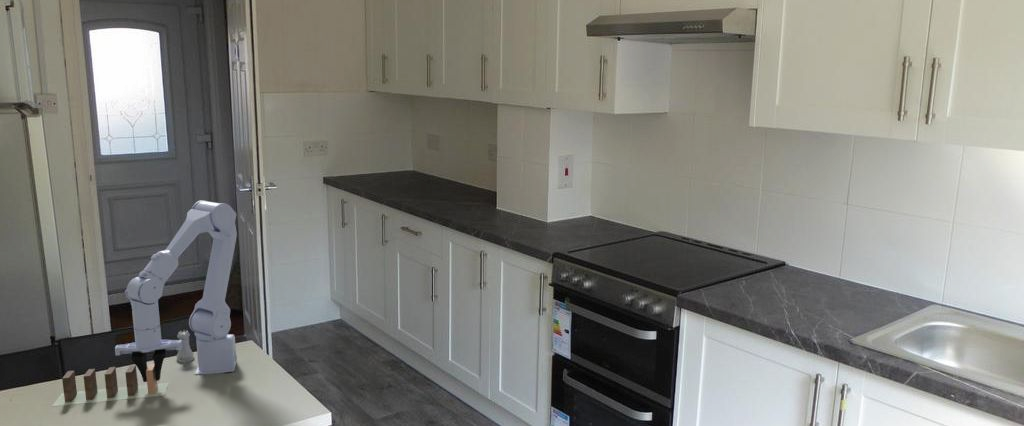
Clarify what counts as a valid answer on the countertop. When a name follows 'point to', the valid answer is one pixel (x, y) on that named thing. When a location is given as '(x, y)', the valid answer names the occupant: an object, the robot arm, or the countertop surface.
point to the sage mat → (120, 395)
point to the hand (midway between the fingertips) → (152, 379)
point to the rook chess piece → (184, 348)
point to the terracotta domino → (151, 379)
